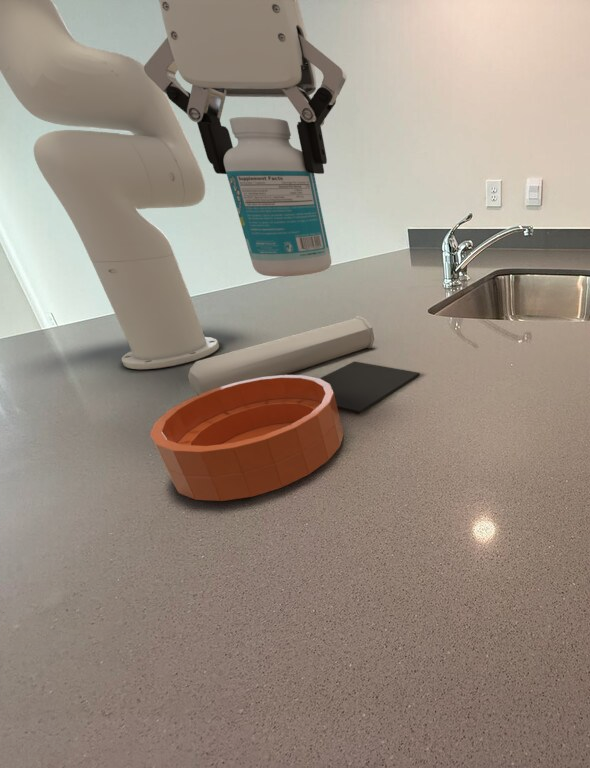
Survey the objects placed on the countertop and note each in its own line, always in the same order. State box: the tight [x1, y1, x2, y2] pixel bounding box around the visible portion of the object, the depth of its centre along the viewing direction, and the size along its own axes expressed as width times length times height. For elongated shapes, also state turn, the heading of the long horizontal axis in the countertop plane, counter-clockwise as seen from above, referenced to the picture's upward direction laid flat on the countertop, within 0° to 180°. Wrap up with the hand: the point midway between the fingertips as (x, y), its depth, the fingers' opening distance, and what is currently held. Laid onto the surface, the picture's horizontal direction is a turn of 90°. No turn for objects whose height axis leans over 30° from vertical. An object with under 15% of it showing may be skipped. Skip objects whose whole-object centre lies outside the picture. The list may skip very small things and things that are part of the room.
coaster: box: [319, 361, 421, 415], centre depth 55 cm, size 12×12×1 cm
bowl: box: [149, 374, 344, 502], centre depth 39 cm, size 15×15×6 cm
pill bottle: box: [224, 116, 332, 277], centre depth 40 cm, size 8×7×14 cm
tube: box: [187, 315, 375, 395], centre depth 59 cm, size 5×5×25 cm
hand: (271, 172), depth 39 cm, fingers closed on pill bottle, 7 cm apart
